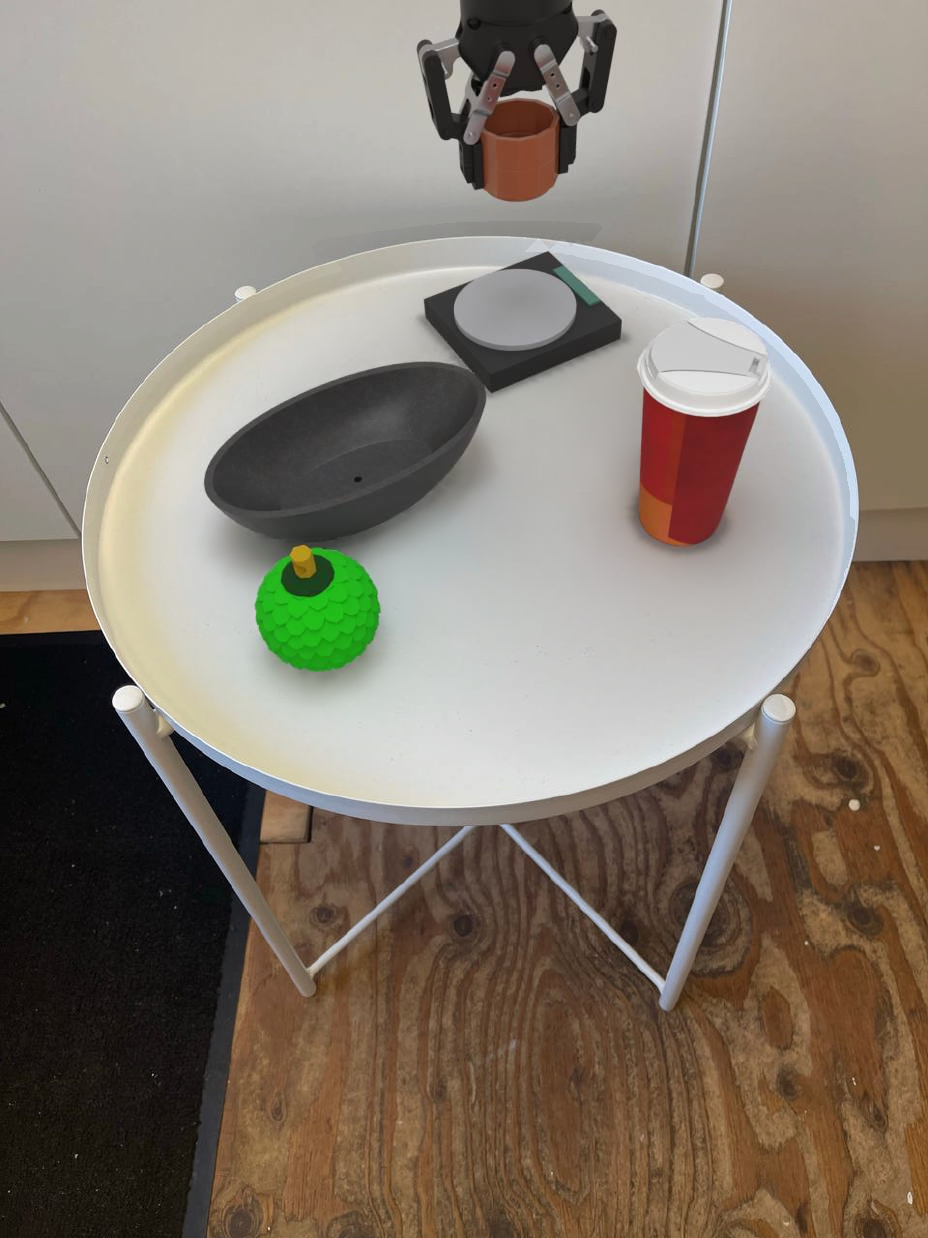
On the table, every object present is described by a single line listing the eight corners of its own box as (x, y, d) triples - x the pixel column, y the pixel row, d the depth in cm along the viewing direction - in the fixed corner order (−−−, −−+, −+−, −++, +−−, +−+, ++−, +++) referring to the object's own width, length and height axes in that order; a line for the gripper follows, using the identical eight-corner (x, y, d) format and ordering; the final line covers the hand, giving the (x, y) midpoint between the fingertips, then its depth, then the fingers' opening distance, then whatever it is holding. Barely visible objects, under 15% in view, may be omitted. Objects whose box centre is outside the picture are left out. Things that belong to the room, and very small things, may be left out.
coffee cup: (748, 492, 73) (791, 328, 61) (717, 571, 69) (756, 412, 57) (642, 463, 75) (662, 299, 63) (605, 538, 71) (620, 378, 59)
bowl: (522, 484, 75) (521, 424, 70) (261, 607, 69) (239, 552, 64) (445, 395, 81) (439, 335, 76) (201, 502, 76) (177, 444, 71)
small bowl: (544, 156, 77) (545, 91, 73) (567, 196, 73) (569, 131, 69) (471, 170, 76) (467, 106, 72) (490, 211, 73) (488, 146, 69)
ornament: (247, 664, 66) (207, 574, 58) (316, 582, 70) (288, 487, 62) (343, 714, 64) (315, 627, 56) (409, 626, 68) (392, 532, 59)
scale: (548, 269, 91) (548, 244, 88) (620, 338, 84) (622, 313, 82) (425, 317, 87) (422, 293, 85) (491, 393, 81) (489, 368, 79)
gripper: (416, -37, 58) (438, 220, 71) (645, -75, 59) (624, 184, 73) (391, -82, 62) (417, 168, 76) (605, -117, 63) (592, 135, 77)
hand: (518, 175), depth 74 cm, fingers closed on small bowl, 6 cm apart
